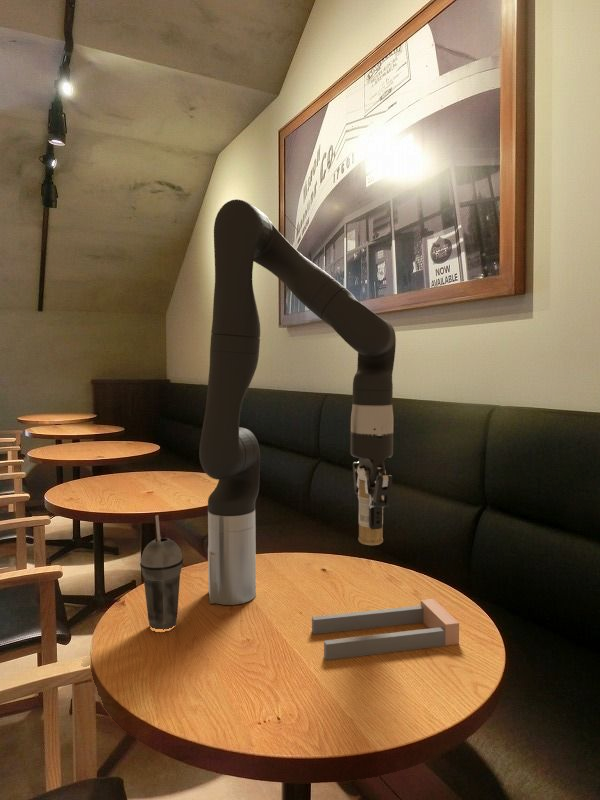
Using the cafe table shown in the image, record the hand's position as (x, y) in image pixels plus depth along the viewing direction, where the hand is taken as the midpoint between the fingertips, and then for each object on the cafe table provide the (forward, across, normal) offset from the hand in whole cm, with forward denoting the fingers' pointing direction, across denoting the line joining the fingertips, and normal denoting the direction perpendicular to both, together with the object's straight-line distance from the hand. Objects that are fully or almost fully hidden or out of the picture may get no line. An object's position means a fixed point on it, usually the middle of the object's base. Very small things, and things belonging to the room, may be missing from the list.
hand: (370, 523), depth 96 cm
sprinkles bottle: (+3, 0, 0) cm, 3 cm away
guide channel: (+17, +8, 0) cm, 19 cm away
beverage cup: (+18, -5, -36) cm, 41 cm away
